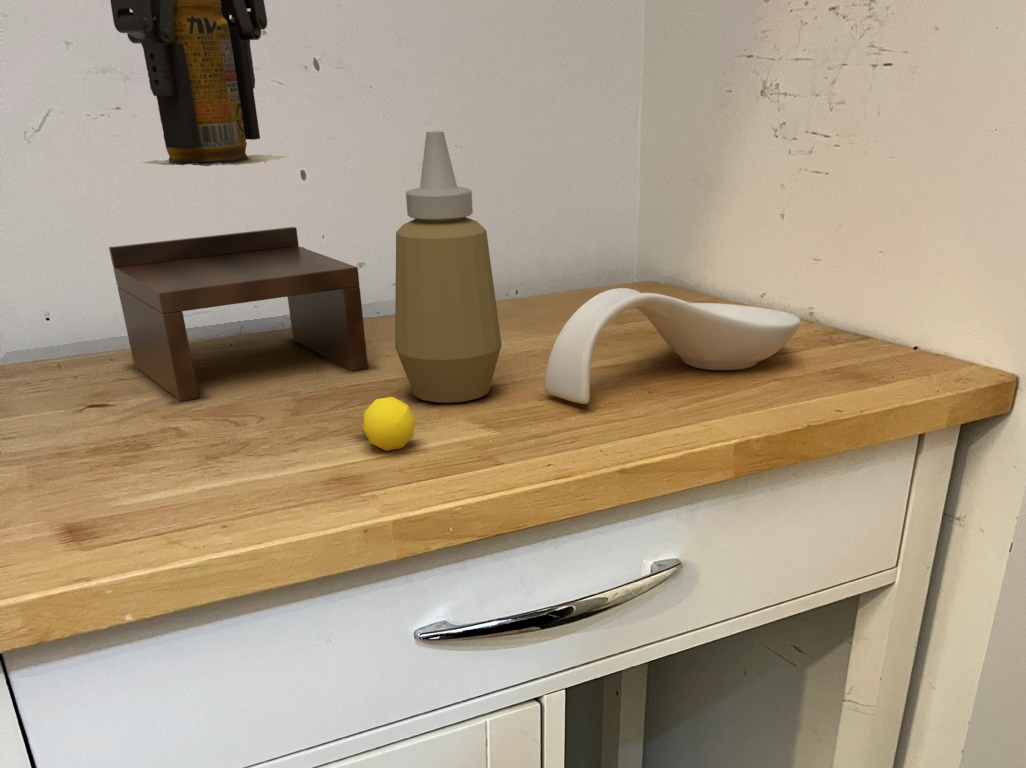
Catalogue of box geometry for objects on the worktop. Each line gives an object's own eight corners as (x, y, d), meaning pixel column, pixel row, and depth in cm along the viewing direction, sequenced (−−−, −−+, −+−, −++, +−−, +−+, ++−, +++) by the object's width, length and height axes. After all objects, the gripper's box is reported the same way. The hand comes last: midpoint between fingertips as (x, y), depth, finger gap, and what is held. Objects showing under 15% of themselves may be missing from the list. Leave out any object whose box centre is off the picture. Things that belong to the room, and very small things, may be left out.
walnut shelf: (180, 401, 84) (154, 271, 79) (134, 365, 94) (108, 247, 89) (368, 368, 92) (356, 246, 86) (308, 338, 101) (294, 226, 96)
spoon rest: (718, 337, 98) (724, 251, 94) (825, 361, 91) (836, 269, 87) (515, 389, 85) (512, 292, 82) (619, 422, 78) (621, 318, 74)
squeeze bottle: (418, 415, 80) (395, 139, 70) (386, 387, 86) (362, 130, 77) (519, 400, 83) (511, 132, 73) (481, 374, 89) (469, 124, 79)
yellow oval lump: (388, 460, 72) (362, 410, 70) (362, 459, 77) (338, 412, 76) (430, 436, 73) (406, 386, 71) (402, 437, 78) (379, 390, 77)
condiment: (206, 156, 88) (176, -23, 82) (290, 159, 85) (265, -28, 79) (141, 166, 83) (103, -25, 76) (228, 169, 80) (196, -30, 73)
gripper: (77, -296, 62) (162, 157, 75) (288, -240, 77) (329, 132, 89) (-13, -279, 65) (83, 154, 78) (206, -228, 79) (257, 131, 92)
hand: (214, 142), depth 83 cm, fingers closed on condiment, 6 cm apart
